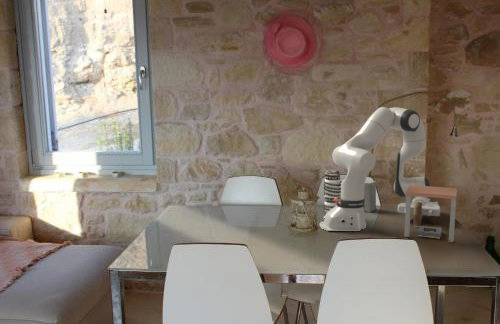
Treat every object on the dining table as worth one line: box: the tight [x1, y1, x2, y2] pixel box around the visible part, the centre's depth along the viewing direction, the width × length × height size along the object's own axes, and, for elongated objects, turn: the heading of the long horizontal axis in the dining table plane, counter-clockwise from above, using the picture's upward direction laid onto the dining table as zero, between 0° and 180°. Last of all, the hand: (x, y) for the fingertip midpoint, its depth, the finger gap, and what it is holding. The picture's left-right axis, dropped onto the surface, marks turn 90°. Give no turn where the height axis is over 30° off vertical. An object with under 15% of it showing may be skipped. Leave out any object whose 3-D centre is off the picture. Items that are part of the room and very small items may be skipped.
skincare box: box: [364, 180, 377, 213], centre depth 289 cm, size 8×7×16 cm
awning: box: [403, 185, 458, 241], centre depth 244 cm, size 15×21×22 cm
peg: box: [413, 202, 422, 226], centre depth 259 cm, size 4×4×12 cm
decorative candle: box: [323, 168, 342, 219], centre depth 274 cm, size 9×9×25 cm
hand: (417, 213), depth 259 cm, fingers open, 8 cm apart
